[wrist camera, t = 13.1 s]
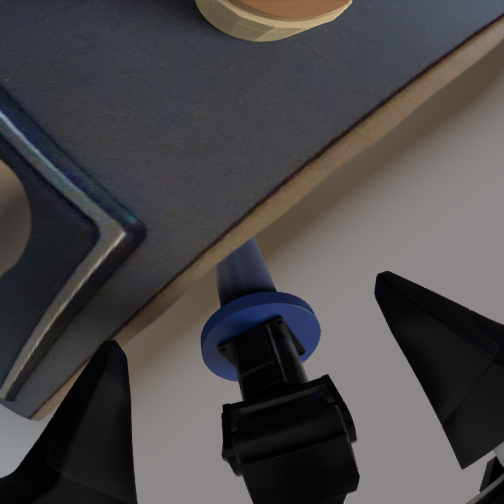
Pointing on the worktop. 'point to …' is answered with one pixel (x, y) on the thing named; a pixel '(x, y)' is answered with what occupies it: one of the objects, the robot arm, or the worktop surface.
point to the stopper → (290, 8)
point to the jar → (254, 22)
